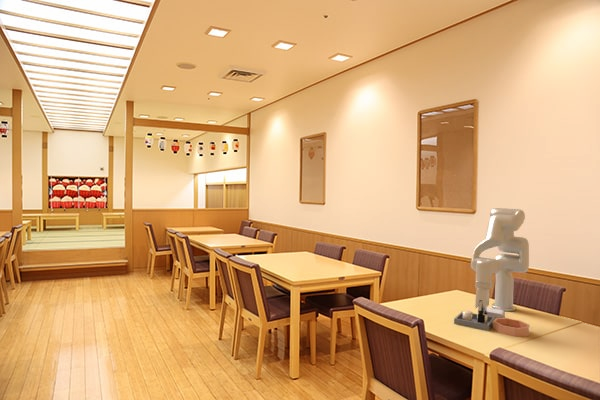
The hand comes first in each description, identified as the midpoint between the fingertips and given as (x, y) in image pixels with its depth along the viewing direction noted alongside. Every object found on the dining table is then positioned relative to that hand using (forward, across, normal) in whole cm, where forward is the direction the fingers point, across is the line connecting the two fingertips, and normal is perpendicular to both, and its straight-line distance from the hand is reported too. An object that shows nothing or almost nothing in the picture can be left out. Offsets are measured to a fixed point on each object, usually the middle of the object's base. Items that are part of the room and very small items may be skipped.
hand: (482, 320), depth 202 cm
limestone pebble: (+2, 0, 0) cm, 2 cm away
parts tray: (+2, 0, -4) cm, 4 cm away
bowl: (+2, 0, +13) cm, 13 cm away
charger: (+3, -18, +3) cm, 19 cm away
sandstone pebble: (+2, 0, -7) cm, 7 cm away
